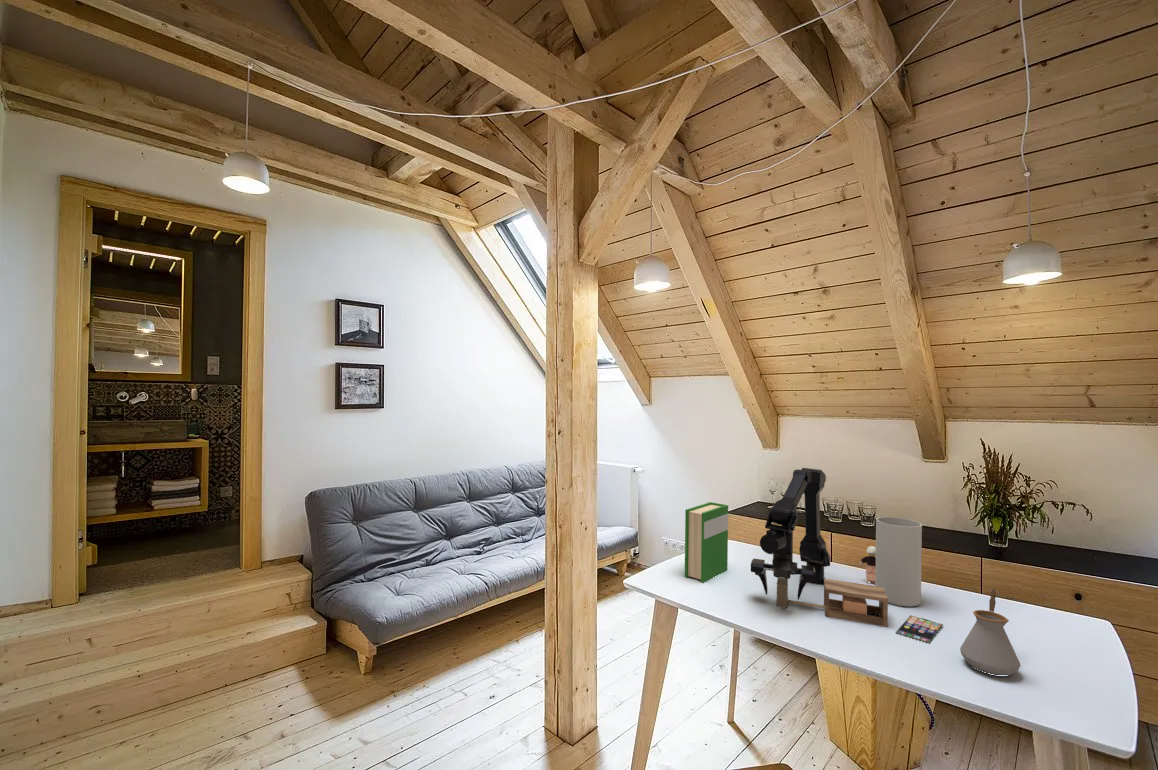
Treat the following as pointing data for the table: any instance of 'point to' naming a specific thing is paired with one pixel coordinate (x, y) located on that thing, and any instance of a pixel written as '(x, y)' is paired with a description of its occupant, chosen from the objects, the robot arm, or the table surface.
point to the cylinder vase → (899, 560)
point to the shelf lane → (858, 592)
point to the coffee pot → (990, 643)
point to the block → (847, 605)
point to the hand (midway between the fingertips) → (782, 596)
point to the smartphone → (919, 629)
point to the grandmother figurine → (870, 564)
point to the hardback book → (706, 541)
